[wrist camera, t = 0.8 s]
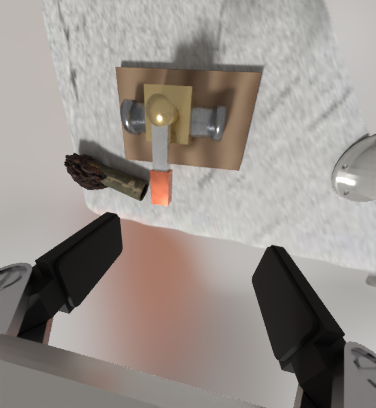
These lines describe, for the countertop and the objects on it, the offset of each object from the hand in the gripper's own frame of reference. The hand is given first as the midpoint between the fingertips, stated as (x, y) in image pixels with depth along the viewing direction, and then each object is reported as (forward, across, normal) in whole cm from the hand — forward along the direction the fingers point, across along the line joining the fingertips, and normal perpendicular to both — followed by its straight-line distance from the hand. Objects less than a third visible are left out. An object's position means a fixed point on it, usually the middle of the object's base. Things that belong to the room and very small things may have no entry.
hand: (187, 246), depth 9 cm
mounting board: (+24, +6, -9) cm, 26 cm away
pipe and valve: (+22, +6, -9) cm, 25 cm away
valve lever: (+14, +6, -3) cm, 16 cm away
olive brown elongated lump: (+24, +21, +5) cm, 32 cm away
